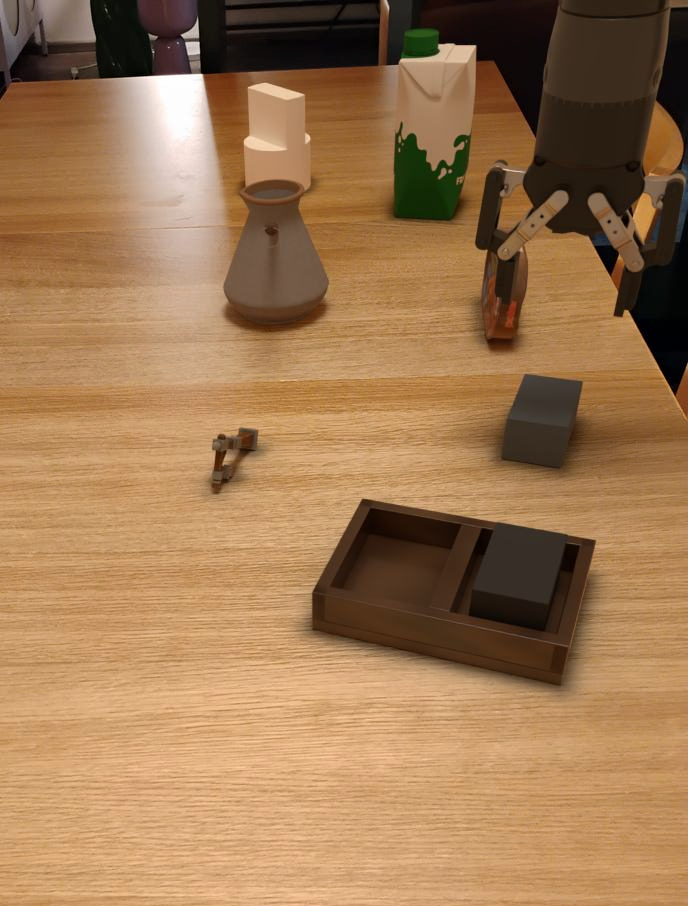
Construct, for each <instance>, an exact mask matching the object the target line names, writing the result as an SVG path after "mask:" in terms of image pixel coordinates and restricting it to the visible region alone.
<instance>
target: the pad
mask: <svg viewBox="0 0 688 906" xmlns="http://www.w3.org/2000/svg"><path fill="white" fill-rule="evenodd" d="M583 384H584V380H578V379H577V380H576V379H569V378H561V377H553V376H547V375H546V376H545V375H537V374H529V373H524V375H523V377H522V380H521V382H520V385H519V387H518V390H517V392H516V395H515V397H514V400H513V402H512V405H511V407H510V408H509V409H510V410H509V412H508V414H507V417H506V422H505V429H504V436H503V441H502V442H503V443H502V450H501V456H500V457H501V459H502V460H507V461H515V462H521V463H526V464H527V463H528V464H532V465H540V466H546V467H551V468H552V467H553V468H558V469H561V468H562V465H563V462H564V458H565V456H566V452H567V449H568V446H569V443H570V440H571V437H572V433H573V431H574V426H575V424H576V420H577V414H578V409H579V405H580V399H581V395H582V390H583Z"/></svg>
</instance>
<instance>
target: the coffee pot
mask: <svg viewBox="0 0 688 906" xmlns="http://www.w3.org/2000/svg"><path fill="white" fill-rule="evenodd" d="M305 192H306V191H305V189H304V187H303V185H302V184H300V183H298V182H296V181H291V180H284V179H272V180H264V181H259V182H255V183H252V184H250V185H248V186H246V185H245V187H243V188H242V189H240V191H239V192H238V196H239V197H240V198H241V199H242V201H243V202H244V204H245V206H246V207H247V209H248V215H247V217H246V221H245V223H244V226H243V229H242V231H241V234H240V236H239V240H238V242H237V246H236V248H235V251H234V253H233V257H232V259H231V262H230V265H229V268H228V271H227V274H226V276H225V279H224V281H223V286H222V287H223V292H224V296H225V298H226V300H227V302H228V303H229V304H230V305H231V307H233V309H235V310H236V311H237V312H238V313H240V314H241V315H243V316H244V318H245V319H247V320H249V321H251V322H253V323H256V324H261V325H273V326H276V325H286V324H290V323H295V322H297V321H301V320H302V319H304V318H305V317H307V316H308V315H309V314H310V313H311V312H312V310H314V309H315V308H316V307H317V306H318V305H319V304H320V303H321V302H322V300H323V299H324V298H325V296H326V294H327V292H328V289H329V284H330V281H329V277H328V274H327V272H326V270H325V267H324V266H323V262H322V260H321V257H320V256H319V253H318V252H317V249H316V247H315V244H314V242H313V239H312V237H311V235H310V232H309V230H308V228H307V225H306V223H305V221H304V219H303V216H302V214H301V211H300V209H299V206H300V203H301V202H300V201H301V198H302V197H303V196H304V194H305Z"/></svg>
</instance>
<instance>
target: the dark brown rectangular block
mask: <svg viewBox="0 0 688 906" xmlns="http://www.w3.org/2000/svg"><path fill="white" fill-rule="evenodd" d="M495 522H496V525H495V528H494V530H493V533H492V536H491V539H490V541H489V544H488V547H487V549H486V552H485V555H484V558H483V560H482V563H481V566H480V569H479V571H478V574H477V577H476V580H475V582H474V585H473V588H472V594H471V601H470V609H469V616H471V617H476V618H481V619H486V620H490V621H495V622H500V623H505V624H509V625H514V626H519V627H524V628H528V629H533V630H538V631H543V632H544V631H545V627H546V624H547V620H548V616H549V613H550V609H551V606H552V602H553V598H554V595H555V591H556V587H557V584H558V580H559V576H560V571H561V566H562V562H563V557H564V552H565V547H566V542H567V537H568V535H569V534H567V533H563V532H558V531H551V530H546V529H540V528H534V527H529V526H522V525H519V524H518V525H516V524H512V523H506V522H500V521H495Z"/></svg>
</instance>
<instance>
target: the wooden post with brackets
mask: <svg viewBox="0 0 688 906" xmlns="http://www.w3.org/2000/svg"><path fill="white" fill-rule="evenodd" d="M258 439H259V429H256V428H250V427H243V426H239V427H238V433H237V435H235V436H234V435H231V436H227V434H224V433H219V434H217V437H216V438H212V442H211V451H215V454H214V463H213V470H211V471H212V472H211V479H212V480H211V488H214V489H220V488H221V483H222V480H223V479H224V480H230V478H231V477H233V476H234V467H235V466H234V465H228V464H224V461H225V458H226V456H227V452H228V450H232V451H236V450H238V449H248V450H254V451H255V450H257V448H258Z"/></svg>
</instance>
